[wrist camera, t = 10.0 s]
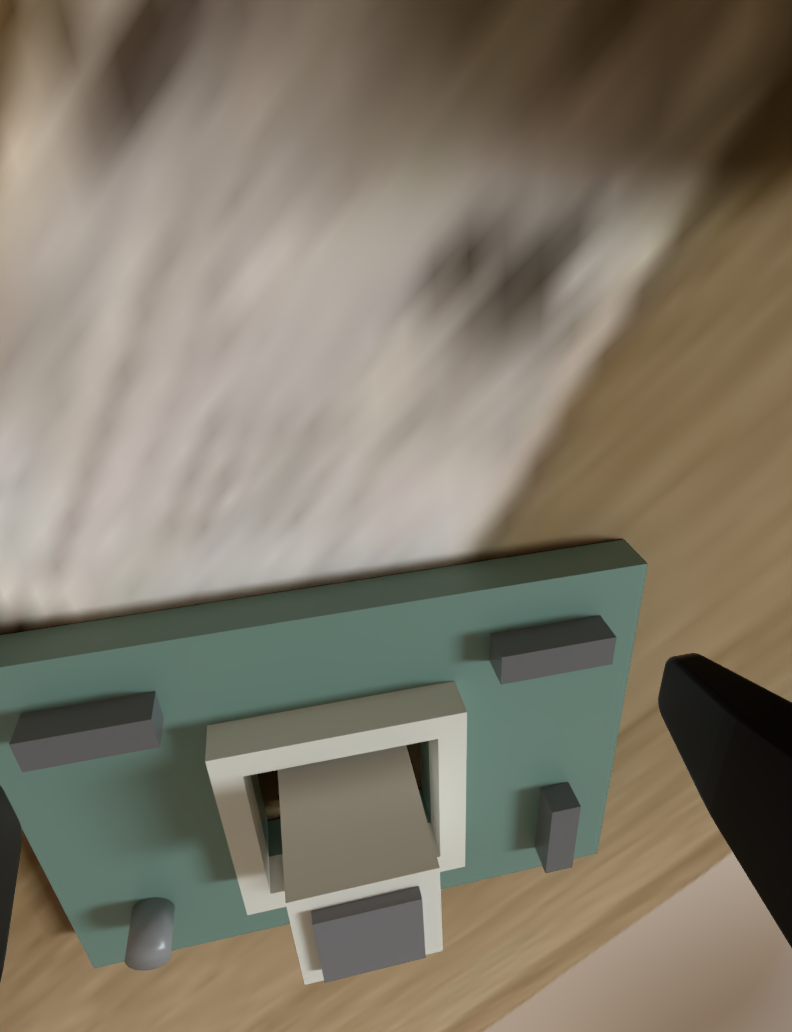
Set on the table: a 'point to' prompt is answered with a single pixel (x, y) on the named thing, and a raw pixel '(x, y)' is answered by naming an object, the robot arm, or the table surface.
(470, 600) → the board
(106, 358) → the table surface
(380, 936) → the plug
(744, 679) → the robot arm
